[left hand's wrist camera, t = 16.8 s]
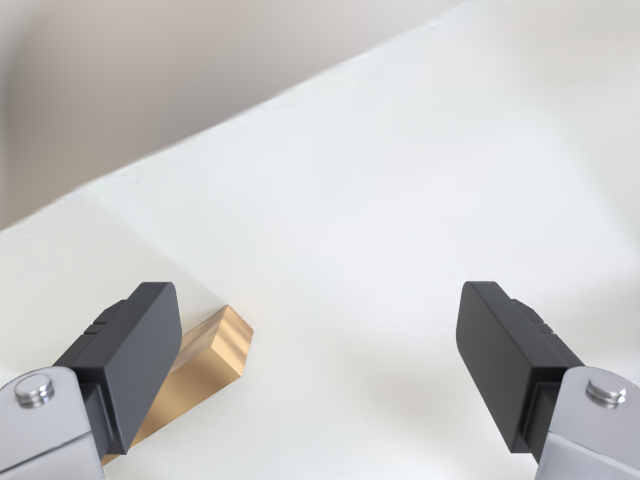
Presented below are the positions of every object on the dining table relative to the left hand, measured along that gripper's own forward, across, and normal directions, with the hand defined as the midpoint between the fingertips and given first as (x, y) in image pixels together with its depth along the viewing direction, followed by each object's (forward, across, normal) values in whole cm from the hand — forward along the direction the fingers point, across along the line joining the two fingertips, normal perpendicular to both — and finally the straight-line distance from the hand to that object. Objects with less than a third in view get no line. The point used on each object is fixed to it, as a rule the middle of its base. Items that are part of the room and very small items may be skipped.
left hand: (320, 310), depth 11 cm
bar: (+30, -19, -27) cm, 45 cm away
